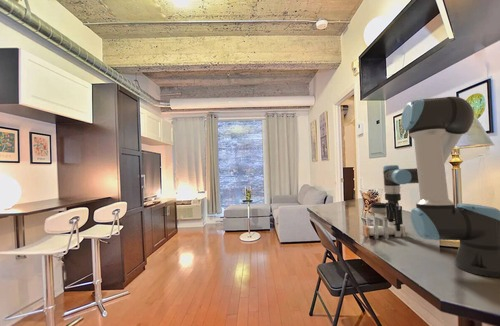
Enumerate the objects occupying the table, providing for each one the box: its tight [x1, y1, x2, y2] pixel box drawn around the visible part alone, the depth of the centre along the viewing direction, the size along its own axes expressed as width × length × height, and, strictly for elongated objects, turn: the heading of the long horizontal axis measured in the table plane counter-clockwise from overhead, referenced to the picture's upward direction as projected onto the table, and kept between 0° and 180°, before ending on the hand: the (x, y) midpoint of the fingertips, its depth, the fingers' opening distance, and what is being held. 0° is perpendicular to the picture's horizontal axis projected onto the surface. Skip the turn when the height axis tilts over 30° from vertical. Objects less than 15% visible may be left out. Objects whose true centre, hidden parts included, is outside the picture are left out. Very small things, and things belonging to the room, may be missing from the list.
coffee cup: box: [369, 202, 387, 226], centre depth 148 cm, size 9×9×15 cm
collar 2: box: [375, 213, 390, 240], centre depth 132 cm, size 12×2×12 cm, turn 174°
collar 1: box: [365, 212, 380, 240], centre depth 133 cm, size 12×2×12 cm, turn 174°
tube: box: [362, 224, 406, 238], centre depth 132 cm, size 20×5×5 cm, turn 84°
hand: (395, 235), depth 131 cm, fingers closed on tube, 5 cm apart
